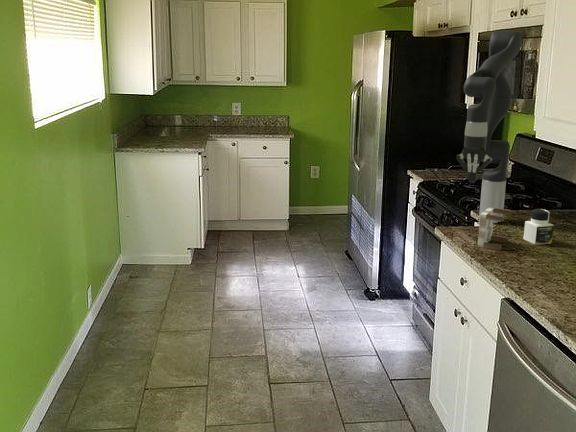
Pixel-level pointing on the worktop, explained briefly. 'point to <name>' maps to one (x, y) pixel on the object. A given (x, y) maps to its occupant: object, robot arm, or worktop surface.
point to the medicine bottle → (538, 228)
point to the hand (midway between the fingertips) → (471, 182)
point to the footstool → (491, 228)
